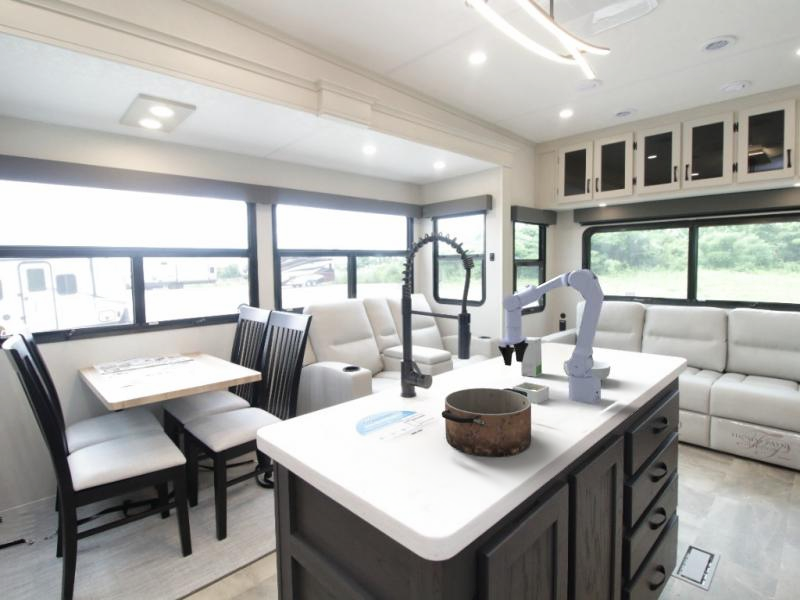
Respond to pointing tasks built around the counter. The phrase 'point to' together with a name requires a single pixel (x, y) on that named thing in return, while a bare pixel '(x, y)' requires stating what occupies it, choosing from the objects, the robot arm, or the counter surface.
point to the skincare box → (532, 358)
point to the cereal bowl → (595, 369)
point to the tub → (534, 395)
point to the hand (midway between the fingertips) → (513, 363)
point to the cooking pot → (488, 421)
